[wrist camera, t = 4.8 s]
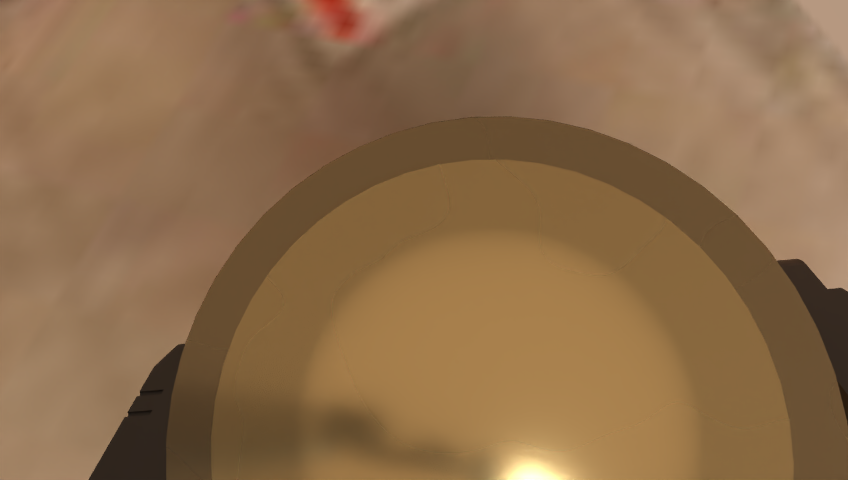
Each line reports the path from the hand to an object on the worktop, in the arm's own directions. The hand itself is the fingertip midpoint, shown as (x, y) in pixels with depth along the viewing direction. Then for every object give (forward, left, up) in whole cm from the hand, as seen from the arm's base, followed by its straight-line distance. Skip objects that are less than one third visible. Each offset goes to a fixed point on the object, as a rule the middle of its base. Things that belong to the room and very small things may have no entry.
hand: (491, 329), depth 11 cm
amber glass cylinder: (+1, -1, -6) cm, 6 cm away
